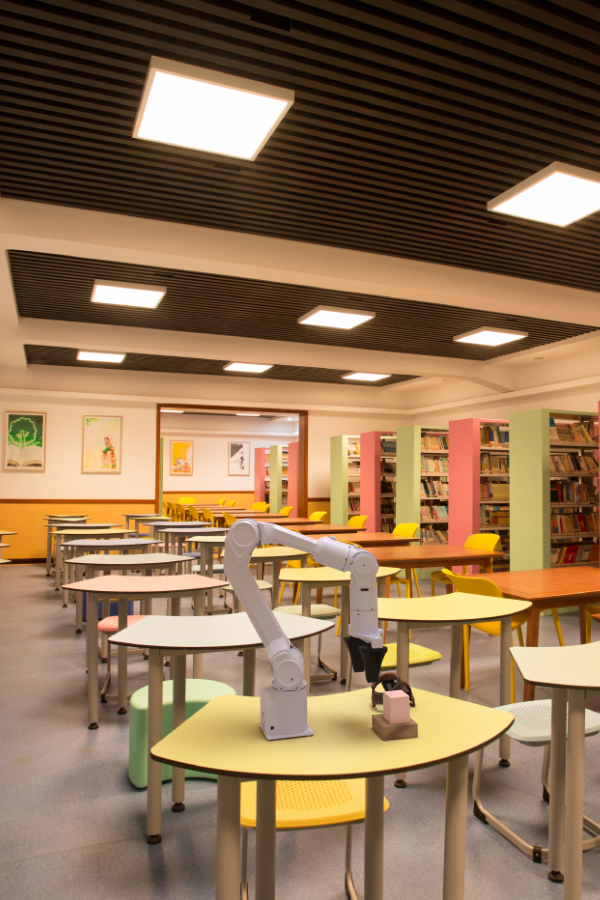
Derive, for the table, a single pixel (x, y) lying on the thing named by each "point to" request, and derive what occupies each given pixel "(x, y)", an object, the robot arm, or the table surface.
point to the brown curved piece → (390, 687)
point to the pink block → (396, 707)
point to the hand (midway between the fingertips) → (365, 676)
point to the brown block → (394, 729)
